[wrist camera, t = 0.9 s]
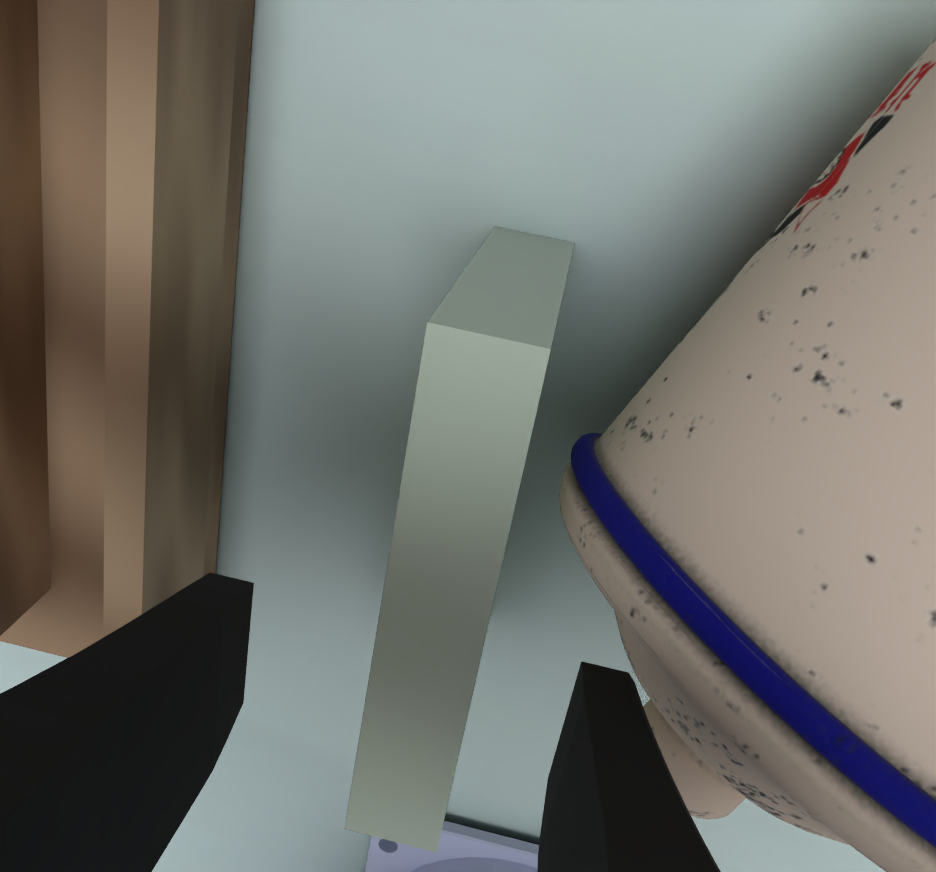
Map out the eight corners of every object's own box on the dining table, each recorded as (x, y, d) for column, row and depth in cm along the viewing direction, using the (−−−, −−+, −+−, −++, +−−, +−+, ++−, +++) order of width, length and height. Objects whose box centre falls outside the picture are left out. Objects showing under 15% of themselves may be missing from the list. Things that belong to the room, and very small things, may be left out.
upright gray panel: (490, 613, 21) (436, 852, 15) (425, 598, 21) (344, 828, 15) (574, 242, 18) (550, 349, 11) (495, 226, 18) (426, 322, 11)
